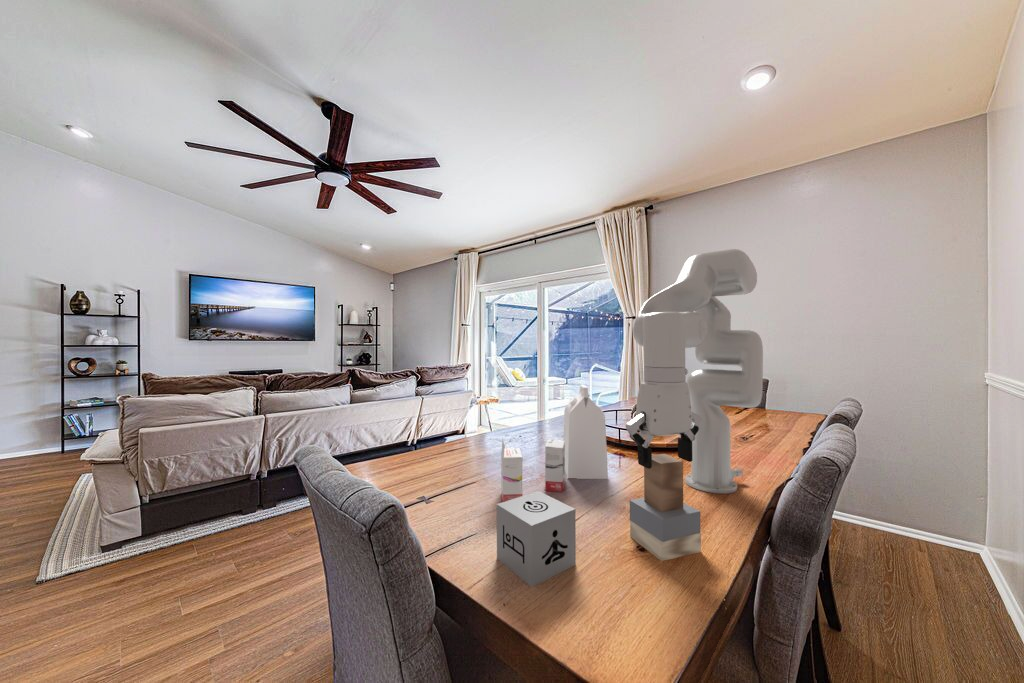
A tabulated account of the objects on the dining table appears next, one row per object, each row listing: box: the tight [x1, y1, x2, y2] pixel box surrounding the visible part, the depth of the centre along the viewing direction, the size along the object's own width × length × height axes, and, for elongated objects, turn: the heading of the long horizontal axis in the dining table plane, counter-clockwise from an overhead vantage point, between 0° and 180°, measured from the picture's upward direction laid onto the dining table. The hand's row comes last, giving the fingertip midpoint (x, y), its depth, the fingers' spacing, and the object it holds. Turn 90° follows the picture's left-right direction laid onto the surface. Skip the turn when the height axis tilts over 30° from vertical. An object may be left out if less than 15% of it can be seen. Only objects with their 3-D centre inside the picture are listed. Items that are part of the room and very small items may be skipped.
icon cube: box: [496, 490, 577, 588], centre depth 67 cm, size 10×10×10 cm
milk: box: [563, 384, 609, 480], centre depth 114 cm, size 12×12×26 cm
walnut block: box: [643, 453, 684, 512], centre depth 73 cm, size 5×5×9 cm
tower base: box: [629, 520, 702, 562], centre depth 73 cm, size 9×9×4 cm
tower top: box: [629, 496, 701, 542], centre depth 73 cm, size 9×9×4 cm
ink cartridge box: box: [500, 437, 524, 502], centre depth 94 cm, size 9×5×15 cm, turn 5°
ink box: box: [544, 438, 566, 493], centre depth 103 cm, size 9×5×12 cm, turn 168°
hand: (665, 462), depth 73 cm, fingers open, 9 cm apart
